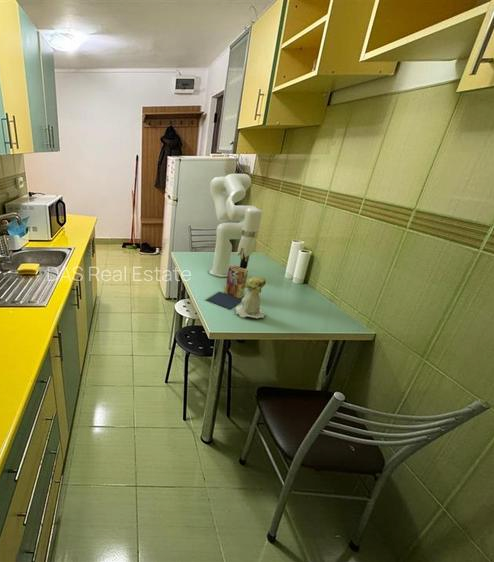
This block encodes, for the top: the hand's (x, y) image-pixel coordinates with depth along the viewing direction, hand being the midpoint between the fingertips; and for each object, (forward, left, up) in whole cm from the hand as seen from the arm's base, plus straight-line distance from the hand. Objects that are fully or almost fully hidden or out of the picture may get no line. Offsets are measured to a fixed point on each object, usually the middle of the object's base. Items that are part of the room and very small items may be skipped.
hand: (243, 267), depth 158 cm
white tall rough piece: (+19, +14, -14) cm, 28 cm away
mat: (+15, 0, -14) cm, 21 cm away
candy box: (+5, 0, -14) cm, 15 cm away
